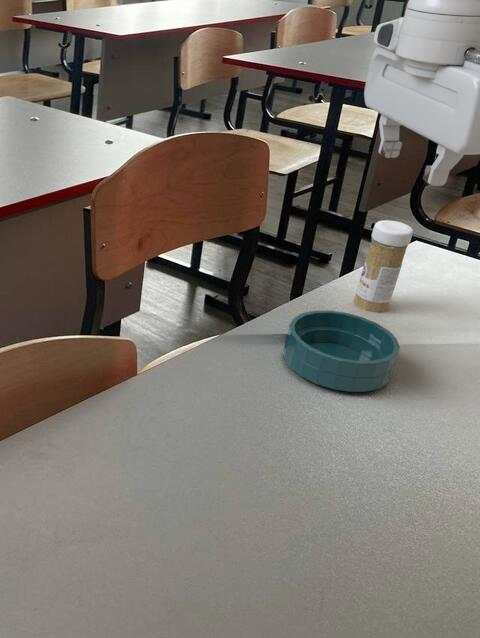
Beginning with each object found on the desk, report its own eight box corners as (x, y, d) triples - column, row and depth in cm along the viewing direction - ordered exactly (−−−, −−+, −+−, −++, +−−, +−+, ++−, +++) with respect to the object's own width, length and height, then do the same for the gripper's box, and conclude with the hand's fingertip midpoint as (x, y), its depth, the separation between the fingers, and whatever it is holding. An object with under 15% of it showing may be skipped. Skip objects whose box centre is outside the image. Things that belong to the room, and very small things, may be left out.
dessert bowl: (359, 339, 98) (368, 309, 96) (409, 395, 88) (420, 362, 85) (267, 341, 98) (274, 310, 95) (306, 397, 87) (315, 364, 85)
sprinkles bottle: (343, 308, 106) (369, 218, 99) (376, 309, 106) (404, 219, 99) (357, 325, 102) (384, 232, 95) (390, 325, 102) (420, 233, 95)
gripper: (544, 60, 70) (495, 202, 76) (421, 23, 87) (390, 142, 94) (478, 61, 69) (435, 203, 76) (368, 24, 87) (341, 143, 94)
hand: (409, 169), depth 85 cm, fingers open, 8 cm apart
